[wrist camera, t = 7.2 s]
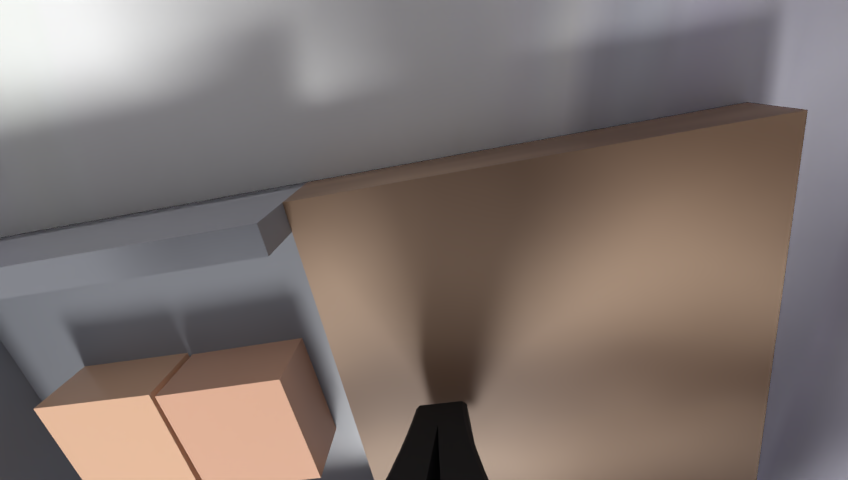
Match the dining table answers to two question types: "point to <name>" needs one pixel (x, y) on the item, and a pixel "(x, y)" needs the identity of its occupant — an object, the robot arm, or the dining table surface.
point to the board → (567, 294)
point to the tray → (154, 311)
